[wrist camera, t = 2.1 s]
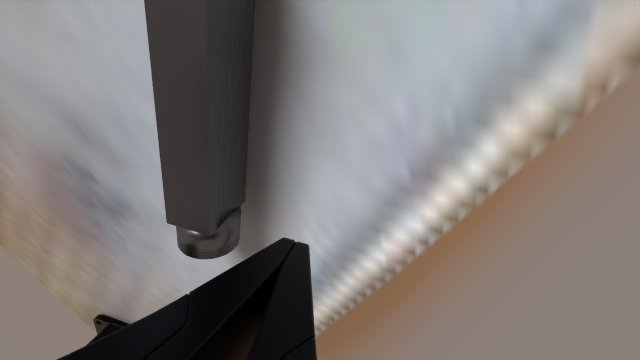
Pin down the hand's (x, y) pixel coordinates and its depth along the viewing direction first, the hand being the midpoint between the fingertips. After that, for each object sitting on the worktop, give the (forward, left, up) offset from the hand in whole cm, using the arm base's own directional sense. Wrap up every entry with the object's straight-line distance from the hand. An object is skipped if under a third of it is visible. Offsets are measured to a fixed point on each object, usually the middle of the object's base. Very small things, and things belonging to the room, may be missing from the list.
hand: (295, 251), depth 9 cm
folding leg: (+3, +5, -5) cm, 8 cm away
